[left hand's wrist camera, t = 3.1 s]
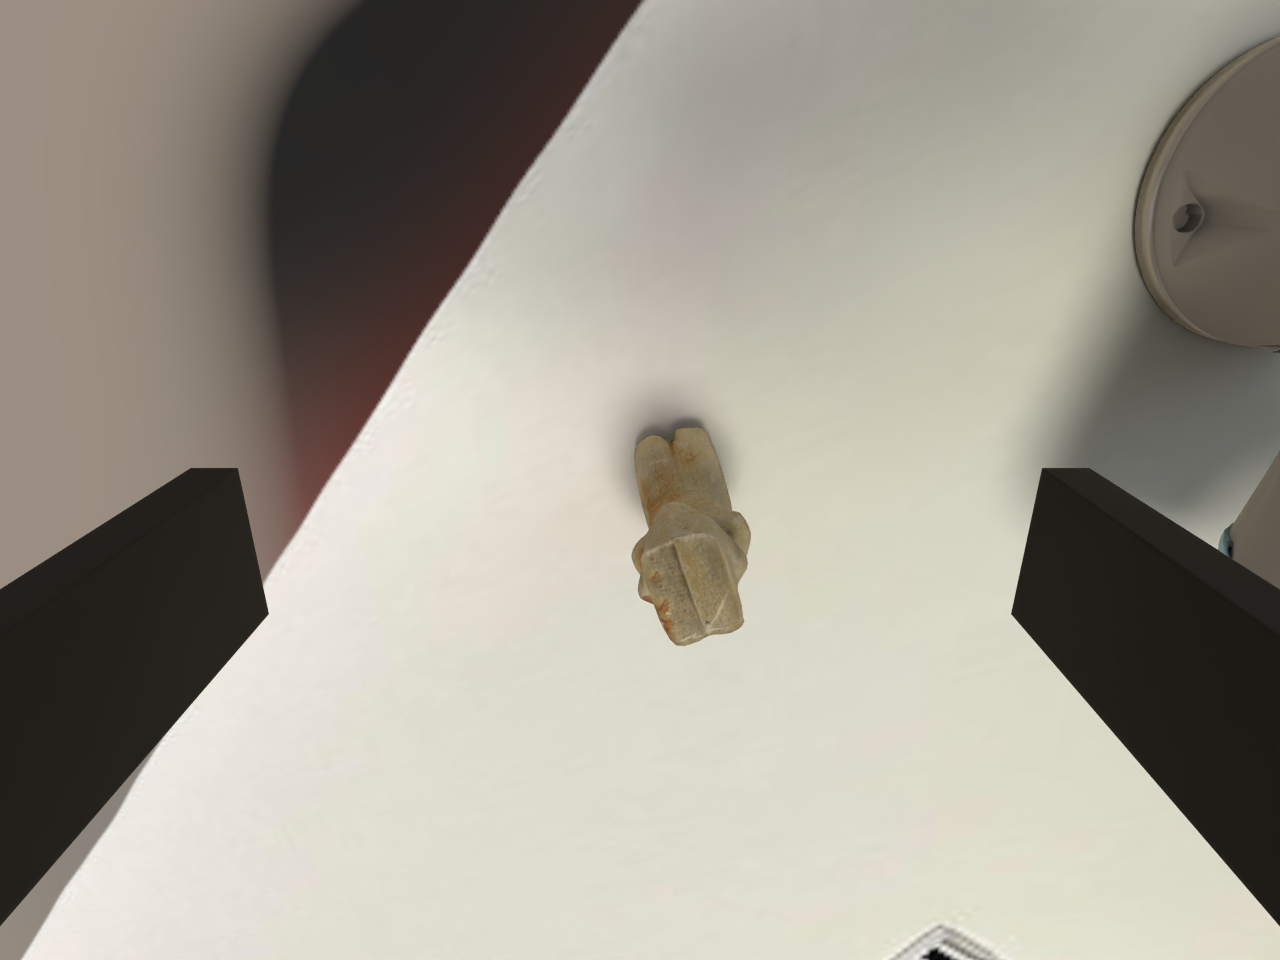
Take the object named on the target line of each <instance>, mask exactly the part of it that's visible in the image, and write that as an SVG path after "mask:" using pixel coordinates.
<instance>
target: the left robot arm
mask: <svg viewBox="0 0 1280 960" xmlns="http://www.w3.org/2000/svg"><path fill="white" fill-rule="evenodd" d="M1135 246H1136V253H1137V259H1138V264H1139V267H1140V270H1141V274H1142V277H1143V279H1144V281H1145V284H1146V286H1147V288H1148V290H1149V291H1150V293H1151V295H1152V297H1153V298H1154V299H1155V301H1156V302H1157V303H1158V305H1159V306H1160V307H1161V308H1162V309H1163V310H1164V312H1165V313H1166V314H1167V315H1168V316H1169V317H1171V318H1172V319H1173V320H1175V321H1176V322H1177V323H1178V324H1180V325H1182V326H1183V327H1185V328H1186V329H1188V330H1190V331H1192V332H1194V333H1197V334H1199V335H1201V336H1205V337H1208V338H1211V339H1214V340H1218V341H1222V342H1225V343H1229V344H1233V345H1238V346H1243V347H1252V348H1280V36H1278V37H1276V38H1274V39H1271V40H1269V41H1267V42H1264V43H1262V44H1261V45H1259V46H1257V47H1255V48H1253V49H1251V50H1249V51H1247V52H1246V53H1244V54H1243V55H1241V56H1240V57H1238V58H1237V59H1235V60H1233V61H1232V62H1231V63H1229V64H1228V65H1227V66H1225V67H1224V68H1223V69H1221V70H1220V71H1219V72H1218V73H1216V74H1215V75H1214V76H1213V77H1212V78H1211V79H1210V80H1209V81H1207V82H1206V83H1205V84H1204V85H1203V86H1202V87H1201V88H1200V89H1199V90H1198V91H1197V92H1196V93H1195V94H1194V95H1193V96H1192V97H1191V99H1190V100H1189V101H1188V102H1187V103H1186V105H1185V106H1184V107H1183V108H1182V109H1181V111H1180V112H1179V113H1178V115H1177V116H1176V117H1175V119H1174V120H1173V122H1172V123H1171V124H1170V126H1169V127H1168V129H1167V131H1166V132H1165V134H1164V136H1163V137H1162V139H1161V141H1160V142H1159V144H1158V146H1157V148H1156V150H1155V152H1154V154H1153V156H1152V158H1151V161H1150V163H1149V166H1148V168H1147V171H1146V173H1145V176H1144V180H1143V183H1142V186H1141V189H1140V194H1139V198H1138V203H1137V210H1136V217H1135ZM1274 352H1275V353H1280V350H1278V351H1274ZM268 614H269V613H268V608H267V603H266V599H265V594H264V589H263V584H262V580H261V575H260V570H259V566H258V561H257V556H256V552H255V547H254V542H253V537H252V533H251V528H250V523H249V519H248V514H247V509H246V504H245V500H244V495H243V490H242V486H241V481H240V476H239V472H238V468H190V469H189V470H187V471H186V472H184V473H183V474H181V475H179V476H178V477H176V478H175V479H173V480H171V481H170V482H168V483H167V484H165V485H164V486H162V487H160V488H159V489H157V490H156V491H154V492H153V493H151V494H149V495H148V496H146V497H145V498H143V499H142V500H140V501H138V502H137V503H135V504H134V505H132V506H131V507H129V508H128V509H126V510H124V511H123V512H121V513H120V514H118V515H116V516H115V517H113V518H112V519H110V520H109V521H107V522H105V523H104V524H102V525H101V526H99V527H98V528H96V529H94V530H93V531H91V532H90V533H88V534H87V535H85V536H83V537H82V538H80V539H79V540H77V541H76V542H74V543H72V544H71V545H69V546H68V547H66V548H65V549H63V550H61V551H60V552H58V553H57V554H55V555H53V556H52V557H50V558H49V559H47V560H46V561H44V562H42V563H41V564H39V565H38V566H36V567H35V568H33V569H32V570H30V571H28V572H27V573H25V574H24V575H22V576H21V577H19V578H17V579H16V580H14V581H13V582H11V583H9V584H8V585H6V586H5V587H3V588H2V589H0V926H1V925H2V923H3V922H4V921H5V920H6V919H7V918H8V916H9V915H10V914H11V913H12V912H13V911H14V909H15V908H16V907H17V906H18V905H19V904H20V902H21V901H22V900H23V899H24V898H25V897H26V896H27V894H28V893H29V892H30V891H31V890H32V889H33V887H34V886H35V885H36V884H37V883H38V881H39V880H40V879H41V878H42V877H43V876H44V875H45V873H46V872H47V871H48V870H49V869H50V868H51V866H52V865H53V864H54V863H55V862H56V861H57V860H58V858H59V857H60V856H61V855H62V854H63V853H64V851H65V850H66V849H67V848H68V847H69V846H70V844H71V843H72V842H73V841H74V840H75V839H76V837H77V836H78V835H79V834H80V833H81V832H82V830H83V829H84V828H85V827H86V826H87V825H88V823H89V822H90V821H91V820H92V819H93V818H94V816H95V815H96V814H97V813H98V812H99V811H100V810H101V808H102V807H103V806H104V805H105V804H106V803H107V801H108V800H109V799H110V798H111V797H112V796H113V794H114V793H115V792H116V791H117V790H118V789H119V787H120V786H121V785H122V784H123V783H124V782H125V780H126V779H127V778H128V777H129V776H130V775H131V774H132V772H133V771H134V770H135V769H136V768H137V767H138V765H139V764H140V763H141V762H142V761H143V760H144V758H145V757H146V756H147V755H148V754H149V753H150V751H151V750H152V749H153V748H154V747H155V746H156V744H157V743H158V742H159V741H160V740H161V739H162V737H163V736H164V735H165V734H166V733H167V732H168V731H169V729H170V728H171V727H172V726H173V725H174V724H175V722H176V721H177V720H178V719H179V718H180V717H181V715H182V714H183V713H184V712H185V711H186V710H187V708H188V707H189V706H190V705H191V704H192V703H193V701H194V700H195V699H196V698H197V697H198V696H199V695H200V693H201V692H202V691H203V690H204V689H205V688H206V686H207V685H208V684H209V683H210V682H211V681H212V679H213V678H214V677H215V676H216V675H217V674H218V672H219V671H220V670H221V669H222V668H223V667H224V665H225V664H226V663H227V662H228V661H229V660H230V658H231V657H232V656H233V655H234V654H235V653H236V652H237V650H238V649H239V648H240V647H241V646H242V645H243V643H244V642H245V641H246V640H247V639H248V638H249V636H250V635H251V634H252V633H253V632H254V631H255V629H256V628H257V627H258V626H259V625H260V624H261V622H262V621H263V620H264V619H265V618H266V617H267V615H268ZM1011 614H1012V615H1013V617H1014V618H1015V619H1016V620H1017V621H1018V622H1019V624H1020V625H1021V626H1022V627H1023V628H1024V629H1025V631H1026V632H1027V633H1028V634H1029V635H1030V636H1031V638H1032V639H1033V640H1034V641H1035V642H1036V643H1037V645H1038V646H1039V647H1040V648H1041V649H1042V650H1043V652H1044V653H1045V654H1046V655H1047V656H1048V657H1049V658H1050V660H1051V661H1052V662H1053V663H1054V664H1055V665H1056V667H1057V668H1058V669H1059V670H1060V671H1061V672H1062V674H1063V675H1064V676H1065V677H1066V678H1067V679H1068V681H1069V682H1070V683H1071V684H1072V685H1073V686H1074V688H1075V689H1076V690H1077V691H1078V692H1079V693H1080V695H1081V696H1082V697H1083V698H1084V699H1085V700H1086V701H1087V703H1088V704H1089V705H1090V706H1091V707H1092V708H1093V710H1094V711H1095V712H1096V713H1097V714H1098V715H1099V717H1100V718H1101V719H1102V720H1103V721H1104V722H1105V724H1106V725H1107V726H1108V727H1109V728H1110V729H1111V731H1112V732H1113V733H1114V734H1115V735H1116V736H1117V738H1118V739H1119V740H1120V741H1121V742H1122V743H1123V744H1124V746H1125V747H1126V748H1127V749H1128V750H1129V751H1130V753H1131V754H1132V755H1133V756H1134V757H1135V758H1136V760H1137V761H1138V762H1139V763H1140V764H1141V765H1142V767H1143V768H1144V769H1145V770H1146V771H1147V772H1148V774H1149V775H1150V776H1151V777H1152V778H1153V779H1154V780H1155V782H1156V783H1157V784H1158V785H1159V786H1160V787H1161V789H1162V790H1163V791H1164V792H1165V793H1166V794H1167V796H1168V797H1169V798H1170V799H1171V800H1172V801H1173V803H1174V804H1175V805H1176V806H1177V807H1178V808H1179V810H1180V811H1181V812H1182V813H1183V814H1184V815H1185V817H1186V818H1187V819H1188V820H1189V821H1190V822H1191V823H1192V825H1193V826H1194V827H1195V828H1196V829H1197V830H1198V832H1199V833H1200V834H1201V835H1202V836H1203V837H1204V839H1205V840H1206V841H1207V842H1208V843H1209V844H1210V846H1211V847H1212V848H1213V849H1214V850H1215V851H1216V853H1217V854H1218V855H1219V856H1220V857H1221V858H1222V860H1223V861H1224V862H1225V863H1226V864H1227V865H1228V866H1229V868H1230V869H1231V870H1232V871H1233V872H1234V873H1235V875H1236V876H1237V877H1238V878H1239V879H1240V880H1241V882H1242V883H1243V884H1244V885H1245V886H1246V887H1247V889H1248V890H1249V891H1250V892H1251V893H1252V894H1253V896H1254V897H1255V898H1256V899H1257V900H1258V901H1259V903H1260V904H1261V905H1262V906H1263V907H1264V908H1265V909H1266V911H1267V912H1268V913H1269V914H1270V915H1271V916H1272V918H1273V919H1274V920H1275V921H1276V922H1277V923H1278V925H1279V926H1280V452H1279V454H1278V455H1277V457H1276V458H1275V460H1274V461H1273V463H1272V465H1271V466H1270V468H1269V469H1268V471H1267V472H1266V474H1265V475H1264V477H1263V479H1262V480H1261V482H1260V483H1259V485H1258V486H1257V488H1256V490H1255V491H1254V493H1253V494H1252V496H1251V497H1250V499H1249V501H1248V502H1247V504H1246V505H1245V507H1244V508H1243V510H1242V511H1241V513H1240V515H1239V516H1238V518H1237V519H1236V521H1235V522H1234V523H1232V524H1231V525H1230V526H1229V527H1228V528H1227V529H1225V530H1224V532H1223V533H1222V535H1221V537H1220V540H1219V547H1218V550H1217V549H1216V548H1214V547H1212V546H1211V545H1209V544H1208V543H1206V542H1204V541H1203V540H1201V539H1200V538H1198V537H1197V536H1195V535H1193V534H1192V533H1190V532H1189V531H1187V530H1186V529H1184V528H1182V527H1181V526H1179V525H1178V524H1176V523H1175V522H1173V521H1171V520H1170V519H1168V518H1167V517H1165V516H1164V515H1162V514H1160V513H1159V512H1157V511H1156V510H1154V509H1153V508H1151V507H1149V506H1148V505H1146V504H1145V503H1143V502H1142V501H1140V500H1138V499H1137V498H1135V497H1134V496H1132V495H1131V494H1129V493H1127V492H1126V491H1124V490H1123V489H1121V488H1120V487H1118V486H1116V485H1115V484H1113V483H1112V482H1110V481H1109V480H1107V479H1105V478H1104V477H1102V476H1101V475H1099V474H1098V473H1096V472H1094V471H1093V470H1091V469H1090V468H1042V472H1041V476H1040V481H1039V486H1038V490H1037V495H1036V500H1035V504H1034V509H1033V514H1032V519H1031V523H1030V528H1029V533H1028V537H1027V542H1026V547H1025V552H1024V556H1023V561H1022V566H1021V570H1020V575H1019V580H1018V584H1017V589H1016V594H1015V599H1014V603H1013V608H1012V613H1011Z"/></svg>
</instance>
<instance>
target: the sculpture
mask: <svg viewBox="0 0 1280 960" xmlns="http://www.w3.org/2000/svg"><path fill="white" fill-rule="evenodd" d="M634 457H635V469H636V476H637V482H638V487H639V493H640V498H641V502H642V506H643V510H644V514H645V517H646V521H647V524H648V528H649V531H648V532H647V534H646V535H645V536H644V537H642V538H641V539H640V540H639V541H638V542H637V544H636V545H635V547H634V549H633V552H632V560H633V563H634V566H635V568H636V569H637V571H638V572H639V574H640V580H639V585H638V592H639V596H640V598H641V599H643V600H645V601H647V602H650V603H652V604H654V606H655V609H656V611H657V614H658V617H659V620H660V622H661V624H662V626H663V628H664V630H665V632H666V633H667V635H668V636H669V638H670V640H671V641H672V642H673V643H674V644H675V645H678V646H686V645H689V644H692V643H695V642H697V641H700V640H702V639H703V638H705V637H707V636H709V635H714V634H726V633H731V632H733V631H735V630H737V629H739V628H740V627H741V626H742V625H743V623H744V619H743V613H742V605H741V601H740V597H739V593H738V590H737V588H738V583H739V581H740V579H741V577H742V576H743V574H744V572H745V571H746V569H747V564H748V563H747V558H746V556H747V552H748V549H749V544H750V539H751V532H750V529H749V527H748V524H747V522H746V520H745V519H744V517H743V516H742V515H741V514H740V513H739V512H735V511H732V507H731V502H730V498H729V494H728V490H727V486H726V483H725V479H724V476H723V472H722V469H721V466H720V463H719V460H718V458H717V455H716V452H715V450H714V447H713V445H712V442H711V440H710V437H709V435H708V433H707V432H706V431H705V430H704V429H702V428H680V429H677V430H676V431H675V433H674V438H673V441H672V442H669V441H667V440H665V439H664V438H662V437H660V436H656V435H651V436H648V437H647V438H645V439H644V440H642V441H641V442H639V444H638V445H637V447H636V449H635V456H634Z"/></svg>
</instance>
